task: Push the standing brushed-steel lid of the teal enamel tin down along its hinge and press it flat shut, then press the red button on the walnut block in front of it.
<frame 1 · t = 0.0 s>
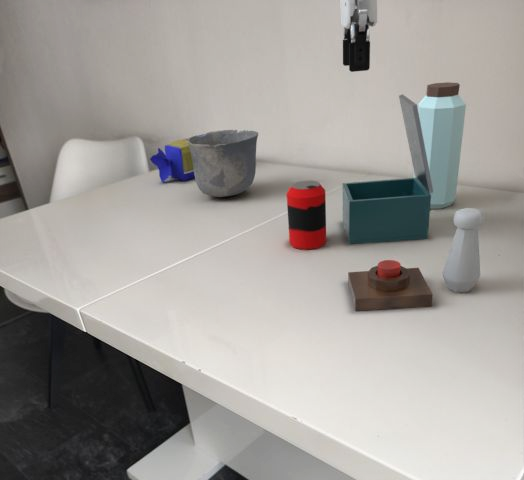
hand: (355, 67, 91), 32 cm above the table, tool pointing down, fingers open, 9 cm apart
water bottle: (432, 204, 125), on the table
cup: (230, 195, 144), on the table
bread: (197, 174, 166), on the table
soda can: (308, 244, 111), on the table
button block: (387, 294, 89), on the table
tin: (382, 230, 114), on the table
salt shaker: (459, 288, 90), on the table
start button: (388, 269, 87), point 5 cm above the table, slide at 0.2 cm
lid: (415, 143, 104), point 17 cm above the table, hinge at 75.0°
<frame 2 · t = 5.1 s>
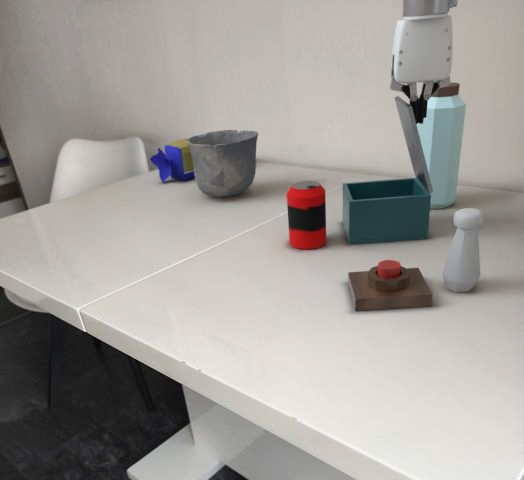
hand: (417, 122, 102), 21 cm above the table, tool pointing down, fingers closed
lid: (413, 144, 104), point 17 cm above the table, hinge at 71.9°, touching gripper
everything else where it was.
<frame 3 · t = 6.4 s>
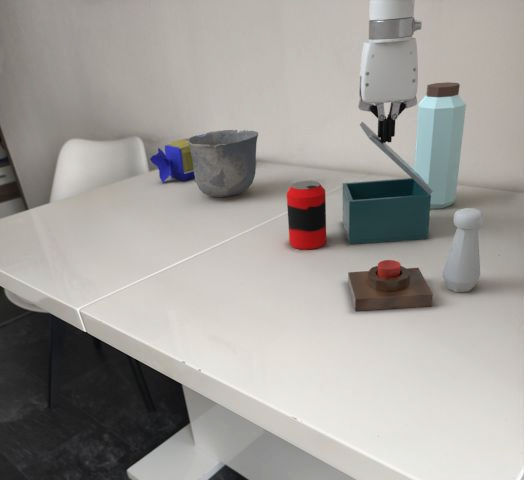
hand: (385, 140, 104), 18 cm above the table, tool pointing down, fingers closed
lid: (395, 157, 105), point 15 cm above the table, hinge at 43.4°, touching gripper
everything else where it was.
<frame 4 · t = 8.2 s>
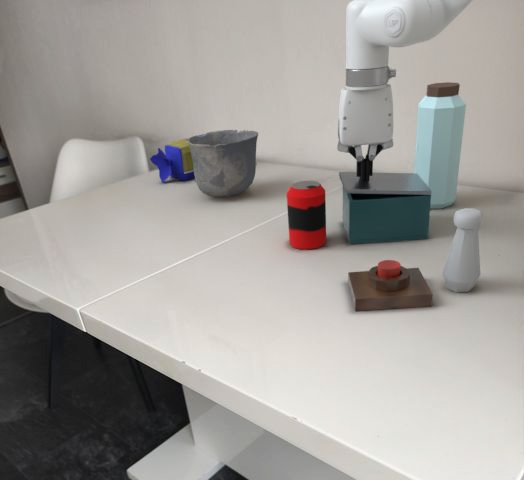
hand: (364, 179, 108), 11 cm above the table, tool pointing down, fingers closed
lid: (382, 182, 108), point 10 cm above the table, hinge at 5.6°, touching gripper
everything else where it was.
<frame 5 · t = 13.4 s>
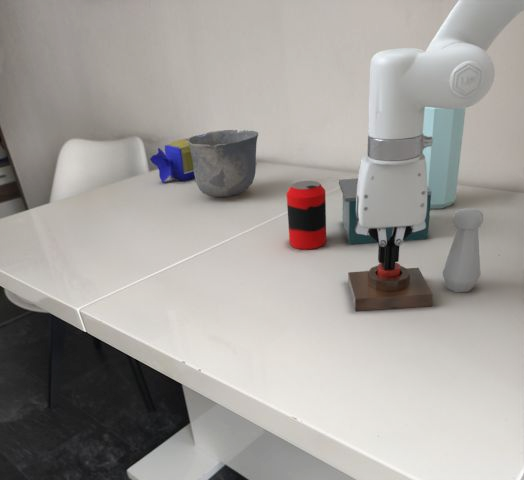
hand: (387, 266, 87), 5 cm above the table, tool pointing down, fingers closed
start button: (388, 271, 87), point 4 cm above the table, slide at -0.1 cm, touching gripper
lid: (382, 187, 109), point 9 cm above the table, hinge at -0.2°, touching tin
everything else where it was.
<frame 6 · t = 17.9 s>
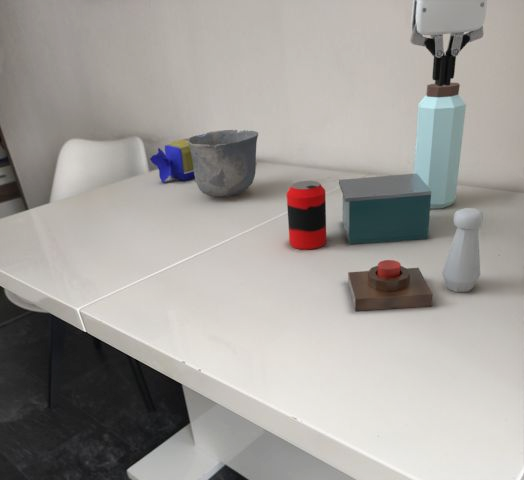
hand: (442, 84, 86), 29 cm above the table, tool pointing down, fingers closed
start button: (388, 269, 87), point 5 cm above the table, slide at 0.2 cm
everything else where it was.
at the end: lid at +0° (first picture: +75°); start button pushed in 1.1 cm at the most during the clip, back to 0.2 cm at the end; start button slide at 0.2 cm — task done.
